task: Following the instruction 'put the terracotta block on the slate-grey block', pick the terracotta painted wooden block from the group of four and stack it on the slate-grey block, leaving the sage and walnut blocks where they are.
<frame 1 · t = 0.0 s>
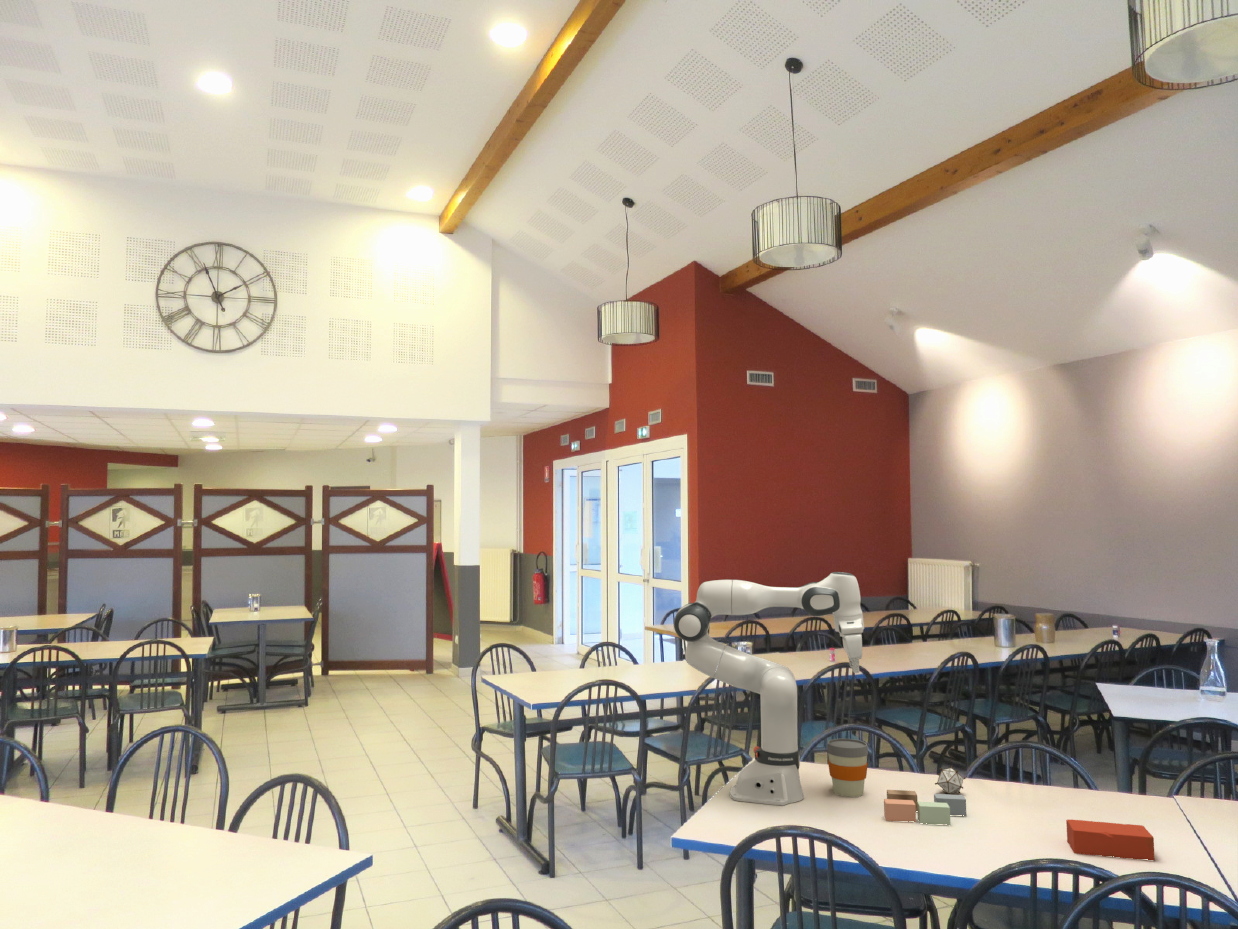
hand: (854, 670, 263), 39 cm above the table, tool pointing down, fingers open, 8 cm apart
reusable coffee cup: (848, 793, 268), on the table
terracotta block: (899, 820, 243), on the table
game die: (950, 794, 265), on the table
walnut block: (902, 810, 251), on the table
slate block: (950, 814, 247), on the table
brick: (1109, 852, 219), on the table
sage block: (933, 822, 240), on the table
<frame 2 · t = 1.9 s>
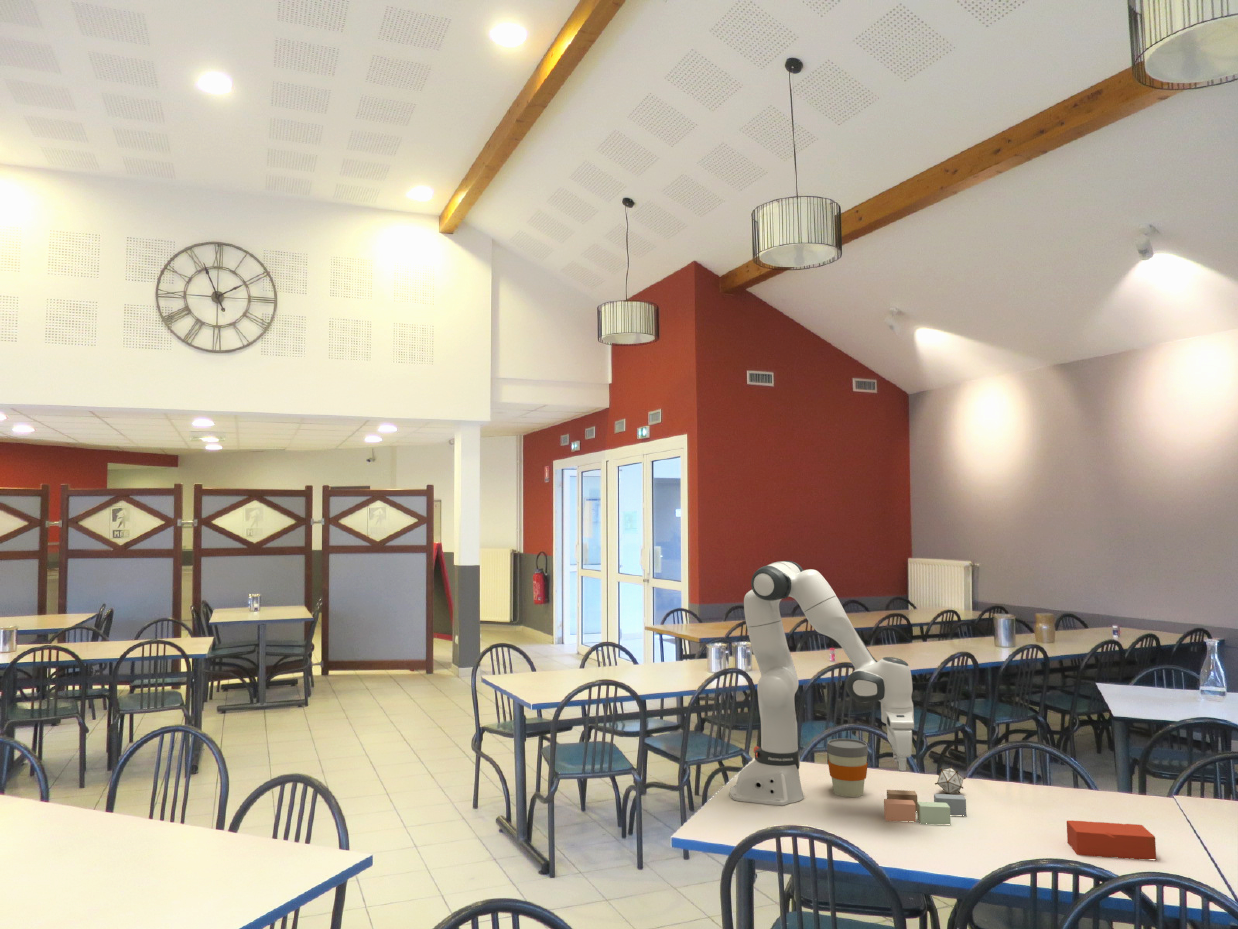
hand: (899, 765, 244), 15 cm above the table, tool pointing down, fingers open, 8 cm apart
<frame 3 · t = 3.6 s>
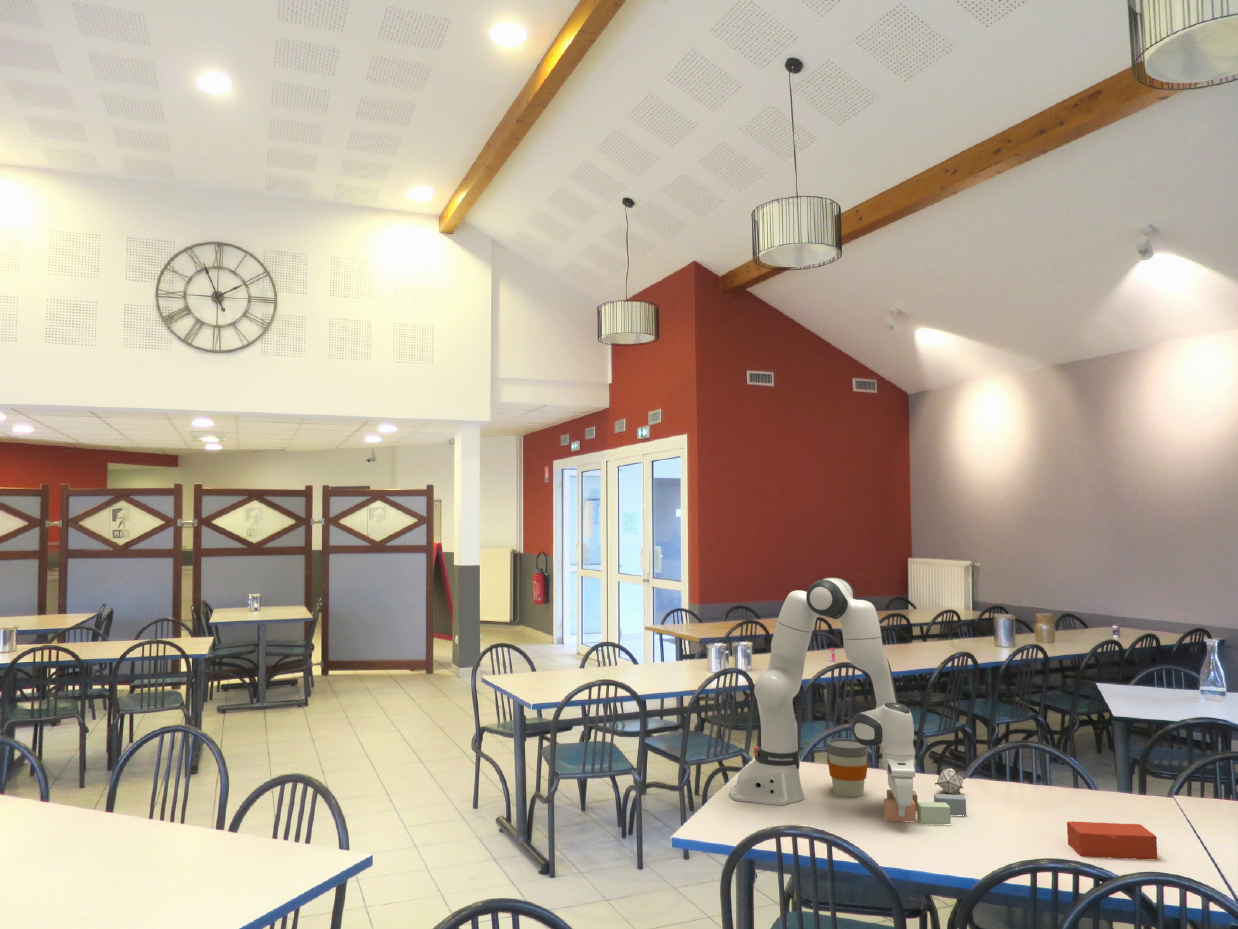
hand: (899, 812, 243), 2 cm above the table, tool pointing down, fingers closed on terracotta block, 4 cm apart
terracotta block: (899, 819, 243), on the table, touching gripper
everything else where it was.
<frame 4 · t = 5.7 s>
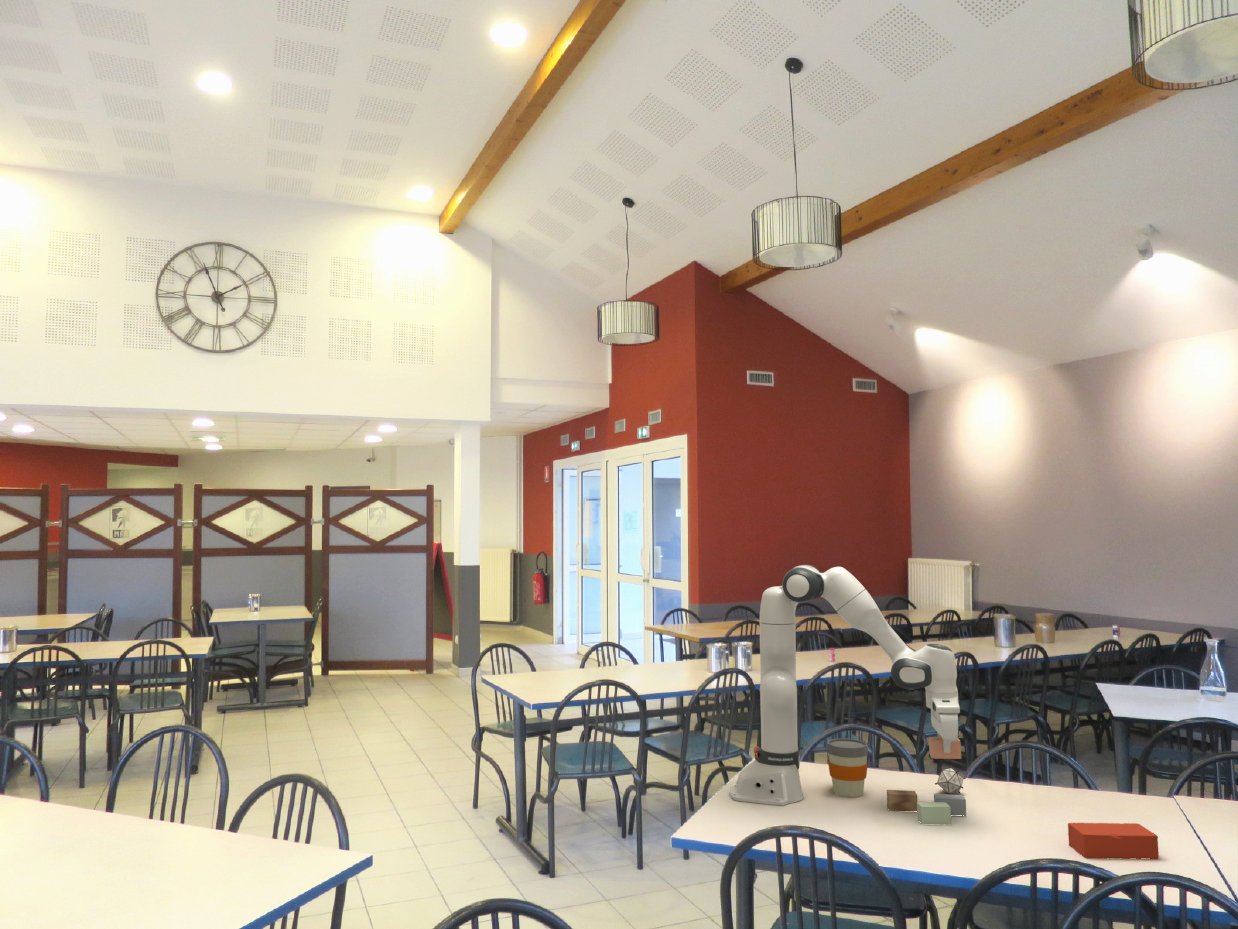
hand: (944, 750, 248), 18 cm above the table, tool pointing down, fingers closed on terracotta block, 4 cm apart
terracotta block: (945, 756, 247), point 16 cm above the table, touching gripper
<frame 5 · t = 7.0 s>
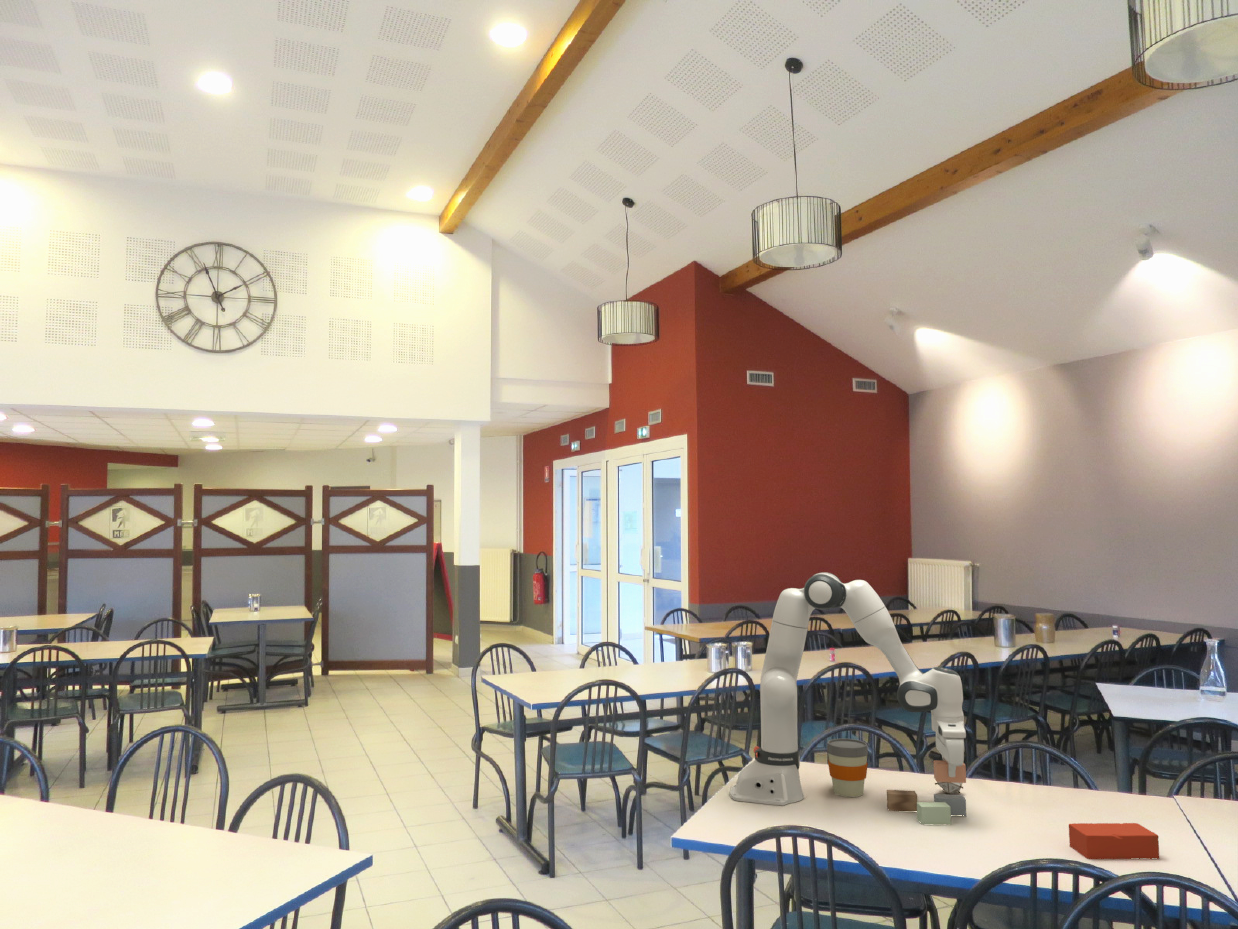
hand: (949, 773, 248), 11 cm above the table, tool pointing down, fingers closed on terracotta block, 4 cm apart
terracotta block: (949, 780, 248), point 9 cm above the table, touching gripper
when the fingers open (8 cm above the table, at t = 8.0 s): terracotta block stays where it is, resting on slate block.
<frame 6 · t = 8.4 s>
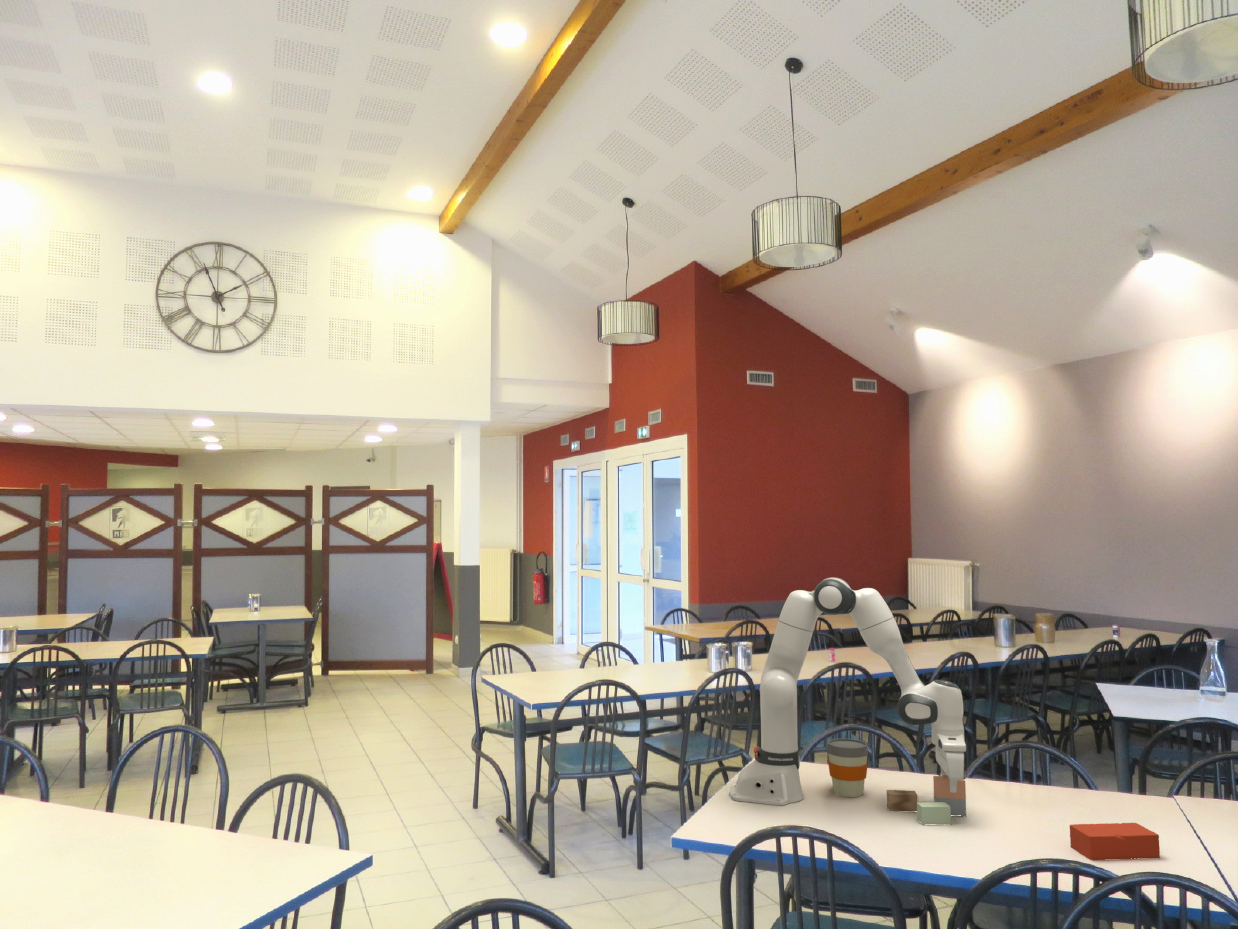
hand: (949, 787, 248), 8 cm above the table, tool pointing down, fingers open, 8 cm apart
terracotta block: (949, 796, 248), point 5 cm above the table, touching slate block
slate block: (950, 814, 247), on the table, touching terracotta block
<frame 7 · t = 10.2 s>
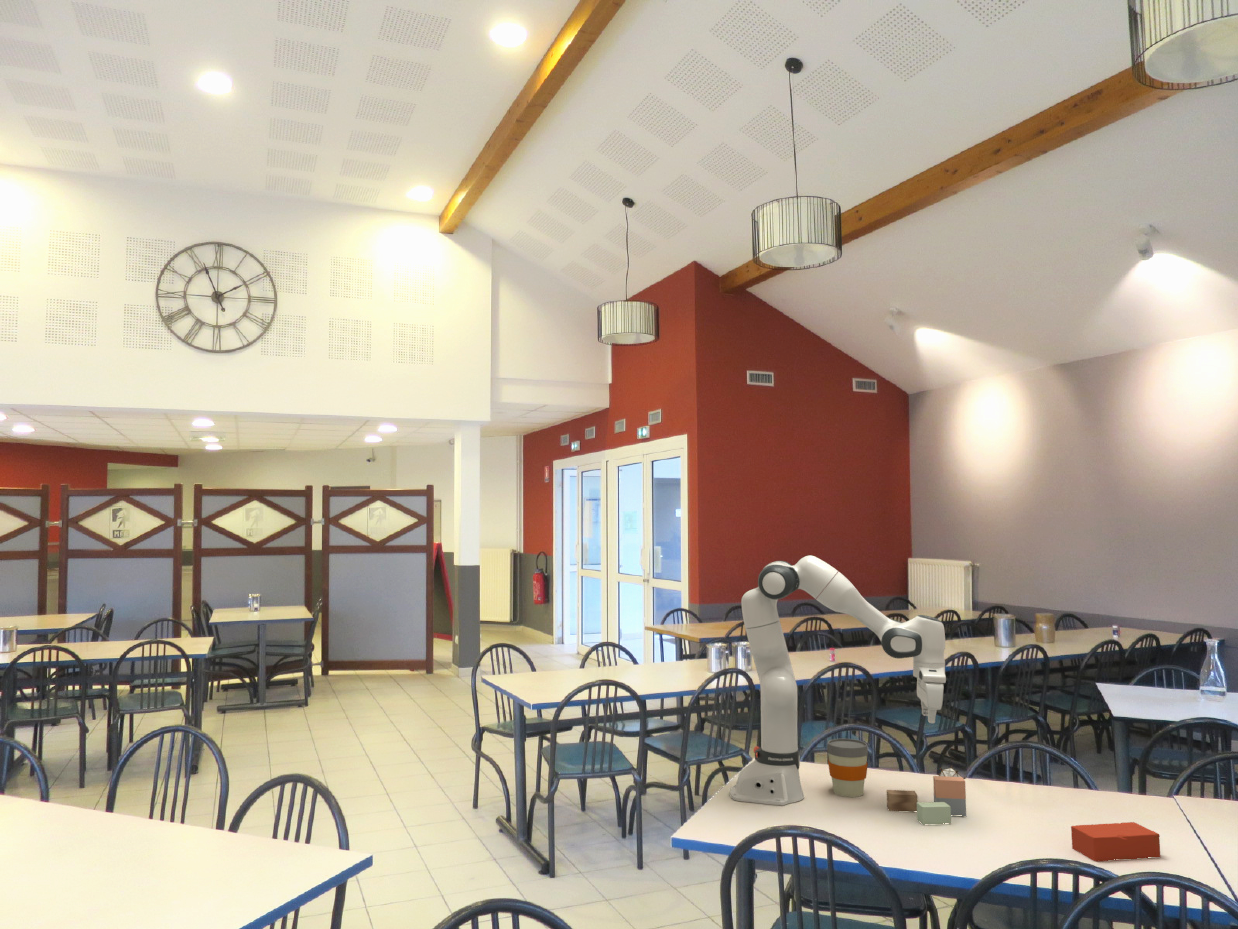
hand: (928, 719, 252), 26 cm above the table, tool pointing down, fingers open, 8 cm apart
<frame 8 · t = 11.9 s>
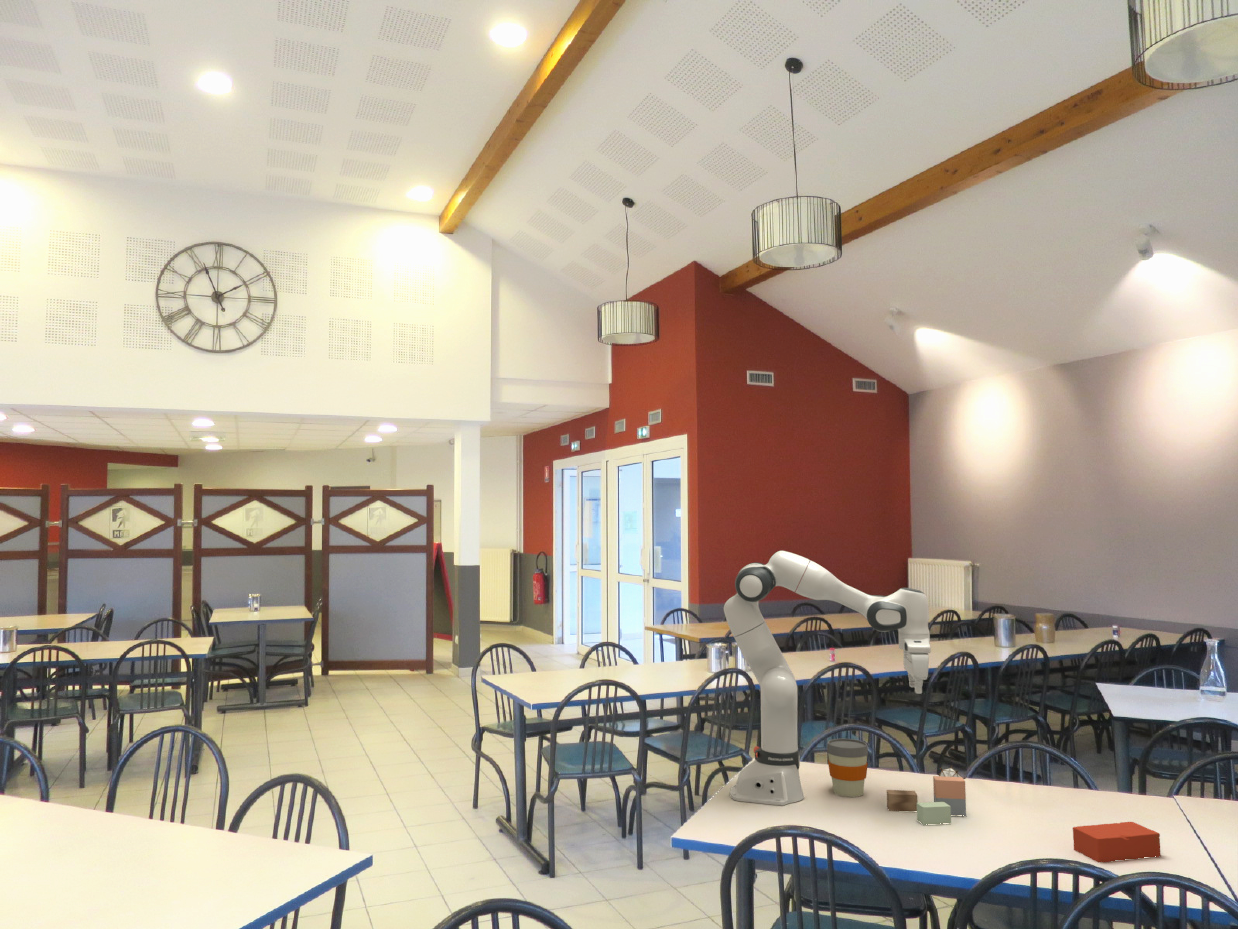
hand: (915, 690, 255), 34 cm above the table, tool pointing down, fingers open, 8 cm apart
at the end: terracotta block 0.0 cm off-centre on the slate block, point 5.0 cm above the slate block's base; sage block moved 0.2 cm from its start; walnut block moved 0.2 cm from its start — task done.
